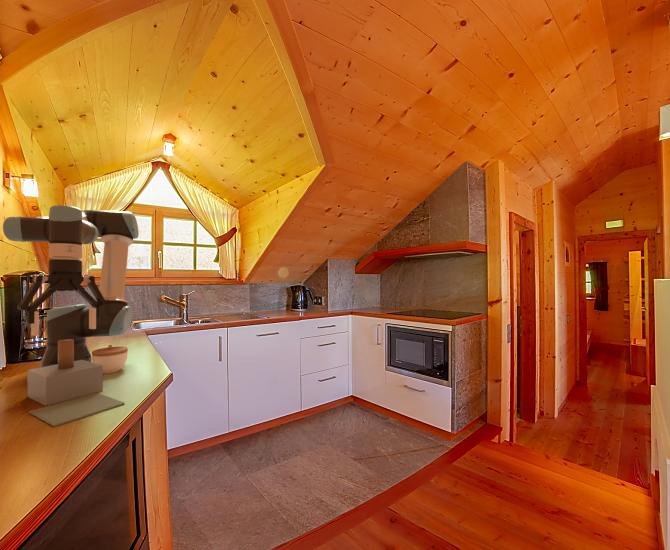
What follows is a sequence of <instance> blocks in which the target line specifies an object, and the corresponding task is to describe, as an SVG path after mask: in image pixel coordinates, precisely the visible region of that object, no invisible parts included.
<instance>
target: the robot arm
mask: <svg viewBox="0 0 670 550" xmlns="http://www.w3.org/2000/svg"><path fill="white" fill-rule="evenodd" d="M2 231H3V235H4V237H5V238H6V239H8V241H12V242H22V243H27V242H28V243H30V242H32V243H33V242H34V243H48V258H49V260H48V276H42V275H35V276H33V278H32V279H33V281H32V283H31V285H30V286H29V288H28V289H27V291H26V293H25V294H24V296H23V297H22V299H21V301H20V302H19V303H18V305H17V307H16V309H17V310H20V311H24V312H26V323H27V324H28V325H31V327H30V332H31V333H30V335H31V336H32V337H33V336H34V337H38V336H39V335H40V331H39V329H40V328H39V327H40V325H39V324H40V323H39V321H40V320H39V319H40V318H39V317H40V315H39V314H40V313H39V312H40V311H36V310H37V309H38V308H39V307H40V306H41V305H43V304H44V303H45V302H46V301H47V300H48V299H49V298H50V297H51V296H52V295H53V294H54V293H56V292H73V291H75V292H76V293H77V294H79V295H80V296H81V297H82V298H83V299H84V301H86V302H87V303H88V304H89V305H90V306H91V307H90V306H89V307H88V306H87V304H86V303H79V304H73V305H72V304H71V305H66V306H64V305H63V306H58V307H52V308H50V309H49V310H48V311H47V312H46V320H45V322H46V349H45V351H44V354H43V356H42V359H41V361H40V364H39V365H40V367H39V368H41V367H46V366H52V365H57V364H58V341H59V340H65V339H74V361H78V360H85V361H89V362H92V363H93V361H92V353H91V352H90V349H89V348H88V345H87V338H98V337H99V338H100V337H115V336H116V337H117V336H123V335H125V334H126V333H127V332H128V330H129V329H130V327H131V324H132V320H133V309H132V307H131V306H129V303H128V301H127V300H126V299H125V289H126V278H127V268H128V257H129V246H131V245H133V244H134V240H135V239H138V238H139V234H140V233H139V225H138V220H137V218H136V216H135V214H134V213H133V212H131V211H123V210H120V211H119V210H101V209H85V210H82V209H81V208H78V207H76V206H70V205H63V204H62V205H61V204H58V205H52V206H50V207H49V212H48V215H45V216H30V217H29V216H9V217H6V219H4V221H3V223H2ZM98 238H100V241H102V243H103V244H104V246H103V255H102V261H101V262H102V264H101V271H100V272H101V273H100V281H99V287H98V285H97V284H96V279H95V276H94V275H87V276H83V261H82V260H81V259H82V258H83V245H90V244H93V243H95V242H96V240H98ZM45 282H47V283H48V284H49V286H47V288H46V289H45V290H44V291H43V292H42V293H40V295H39V296H38V297H36V299H35V300H33V299H34V297H35V296H36V294H37V292H38V291H39V289H40V288H41V287H42V285H44V284H45ZM83 282H84V283H85V284H86V285H87V286H88V288H89V290H90V291H91V293H92V295H93V296H94V297H93V296H92V295H91V294H90V293H89V292H88V291H87V290H86V289H85V287H83V286H82V285H81V284H82V283H83ZM32 300H33V301H32Z"/></svg>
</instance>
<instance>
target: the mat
mask: <svg viewBox="0 0 670 550" xmlns="http://www.w3.org/2000/svg"><path fill="white" fill-rule="evenodd" d="M125 403H126V402H124V401H121V400H119V399H116V398H113V397H110V396H108V395H105V394H102V393H101V392H96V393H92V394H89V395H85V396H81V397H78V398H74V399H70V400H66V401H63V402H59V403H55V404H52V405H48V406H44V407H40V408H37V409H33V410H30V411H29V410H28V413H29V414H30V415H32V416H33V417H35V416H36V418H37V419H39V420H40V421H42V420H43V421H42V422H44V421H45V422H44V423H46V424H48V425H49V424H50V426H52V427H53V428H55V427H58V426H61V425H65V424H68V423H72V422H74V421H77V420H80V419H84V418H86V417H90V416H93V415H95V414H98V413H102V412H105V411H109V410H112V409H115V408H118V407H121V406H123V404H124V405H125ZM120 405H121V406H120ZM117 406H118V407H117ZM114 407H115V408H114Z"/></svg>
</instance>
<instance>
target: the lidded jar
mask: <svg viewBox="0 0 670 550" xmlns="http://www.w3.org/2000/svg"><path fill="white" fill-rule="evenodd" d="M128 348H129V347H127V346H113V345H112V344H109V345H108V347H102V348H97V349H94V350H93V351H91V357H92V363H96V364H100V365H103V374H112V373H116V372H119V371H121V369H122V368H123V367H124V366H125V364H126V362H127V361H128V351H129V349H128Z"/></svg>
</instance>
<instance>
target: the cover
mask: <svg viewBox="0 0 670 550" xmlns="http://www.w3.org/2000/svg"><path fill="white" fill-rule="evenodd" d="M103 374H104V373H103V365H100V364H96V363H93V361H92V362H89V361H85V360H78V361H74V339H65V340H59V341H58V364H57V365H52V366H46V367H41V368H40V367H36V368H31V369H27V398H29V399H31V400H33V401H35V402H37V403H40V404H42V405H44V407H47V405H48V406H51V404H52V405H54V404H58V403H62V402H65V401H69V400H73V399H76V398H77V397H78V398H80V397H84V396H87V395H91V394H95V393H100V392H102V391H103V390H104V389H103V383H104V382H103V381H104V380H103V377H104V376H103ZM99 391H100V392H99Z"/></svg>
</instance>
